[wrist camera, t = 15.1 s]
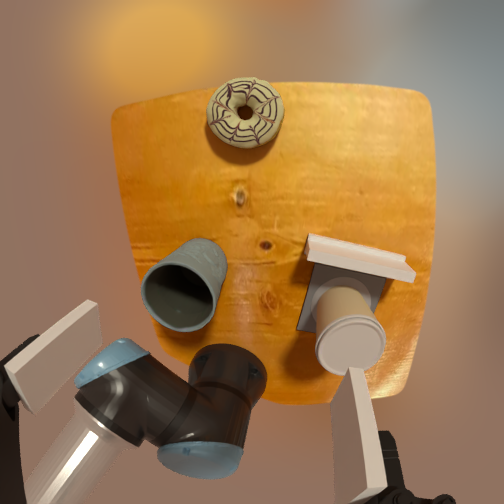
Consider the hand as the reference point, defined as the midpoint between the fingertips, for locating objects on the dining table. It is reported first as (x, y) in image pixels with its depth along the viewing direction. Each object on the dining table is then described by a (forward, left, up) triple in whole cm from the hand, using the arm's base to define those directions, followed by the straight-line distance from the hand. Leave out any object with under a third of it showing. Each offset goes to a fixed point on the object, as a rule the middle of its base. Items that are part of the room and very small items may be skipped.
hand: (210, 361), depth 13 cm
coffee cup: (-10, -14, -30) cm, 35 cm away
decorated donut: (+16, +6, -31) cm, 36 cm away
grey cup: (-8, +9, -31) cm, 33 cm away
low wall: (-1, -14, -31) cm, 34 cm away
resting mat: (-10, -14, -31) cm, 35 cm away
